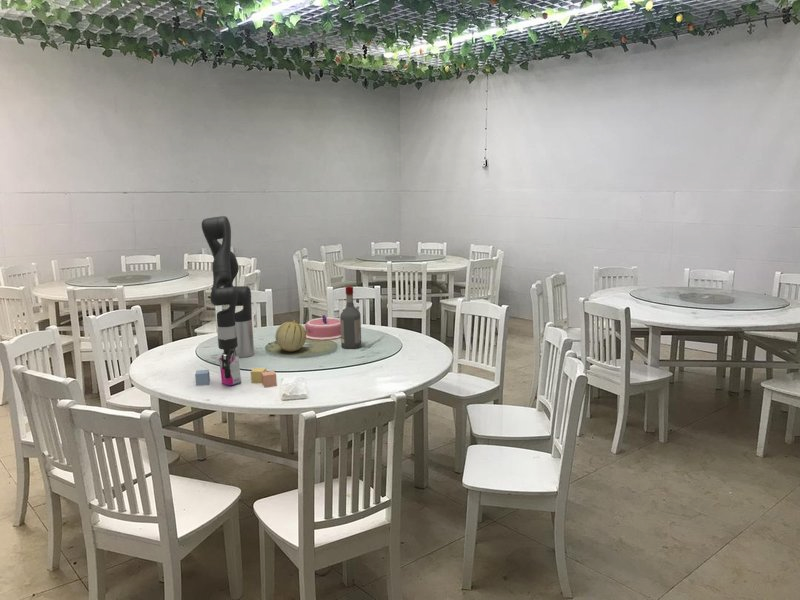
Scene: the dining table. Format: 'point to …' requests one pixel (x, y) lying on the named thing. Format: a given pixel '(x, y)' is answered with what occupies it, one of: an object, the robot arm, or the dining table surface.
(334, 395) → the dining table surface
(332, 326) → the cake
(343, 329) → the liquor
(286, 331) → the cantaloupe
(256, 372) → the ochre block
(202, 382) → the slate block
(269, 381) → the terracotta block
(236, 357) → the supplement box
